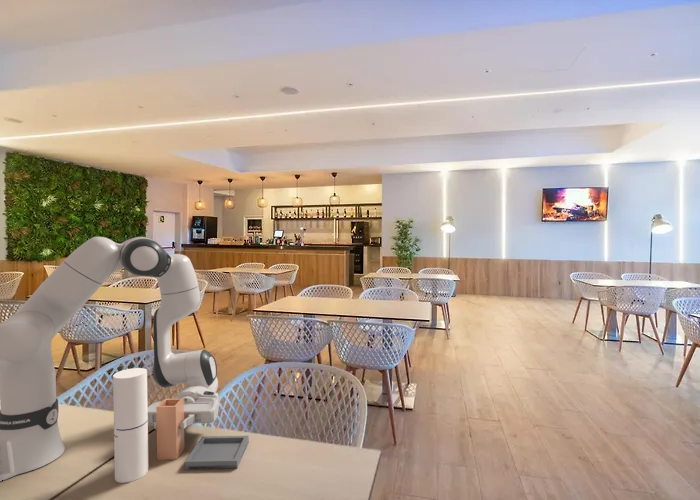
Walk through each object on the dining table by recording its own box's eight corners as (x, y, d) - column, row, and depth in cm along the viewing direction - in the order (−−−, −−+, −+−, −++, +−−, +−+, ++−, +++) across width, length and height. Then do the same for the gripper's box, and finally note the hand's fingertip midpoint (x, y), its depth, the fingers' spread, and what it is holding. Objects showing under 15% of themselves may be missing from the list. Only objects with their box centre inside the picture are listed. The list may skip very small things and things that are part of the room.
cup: (157, 459, 97) (156, 407, 97) (166, 449, 102) (165, 398, 102) (176, 459, 97) (175, 406, 97) (184, 448, 102) (183, 398, 102)
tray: (184, 469, 93) (184, 461, 93) (202, 443, 105) (202, 436, 105) (237, 468, 93) (237, 460, 93) (248, 442, 105) (248, 435, 105)
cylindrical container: (133, 484, 87) (131, 379, 87) (107, 480, 89) (105, 377, 88) (154, 466, 94) (153, 369, 94) (130, 462, 96) (129, 367, 95)
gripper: (155, 393, 112) (129, 415, 98) (223, 392, 113) (207, 414, 99) (155, 414, 112) (129, 438, 98) (223, 413, 113) (207, 437, 99)
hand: (169, 426), depth 99 cm, fingers closed on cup, 5 cm apart
